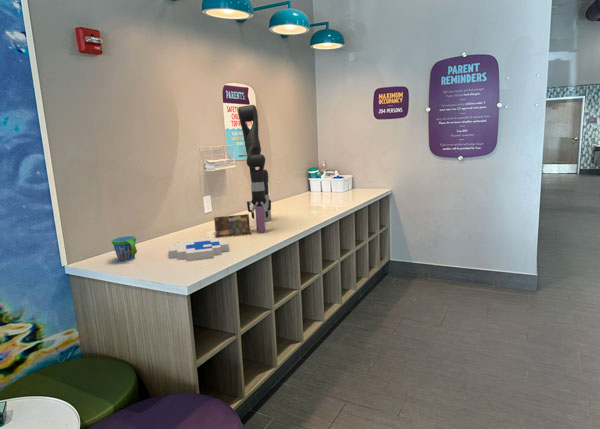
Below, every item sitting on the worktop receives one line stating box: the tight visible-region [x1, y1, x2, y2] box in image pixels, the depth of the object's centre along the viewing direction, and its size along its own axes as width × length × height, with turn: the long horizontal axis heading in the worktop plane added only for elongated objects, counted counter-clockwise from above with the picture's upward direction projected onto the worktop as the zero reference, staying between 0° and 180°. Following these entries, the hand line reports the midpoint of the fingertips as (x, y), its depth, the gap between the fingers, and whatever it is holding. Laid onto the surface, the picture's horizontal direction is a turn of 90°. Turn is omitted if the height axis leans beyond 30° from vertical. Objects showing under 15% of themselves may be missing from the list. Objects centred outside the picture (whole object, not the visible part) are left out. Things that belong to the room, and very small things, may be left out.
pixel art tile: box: [168, 236, 230, 262], centre depth 207 cm, size 28×4×28 cm
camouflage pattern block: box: [213, 213, 252, 239], centre depth 241 cm, size 20×12×10 cm, turn 102°
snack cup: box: [111, 235, 138, 262], centre depth 199 cm, size 16×10×10 cm
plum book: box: [254, 206, 266, 234], centre depth 243 cm, size 4×10×15 cm, turn 12°
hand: (260, 218), depth 243 cm, fingers open, 7 cm apart
